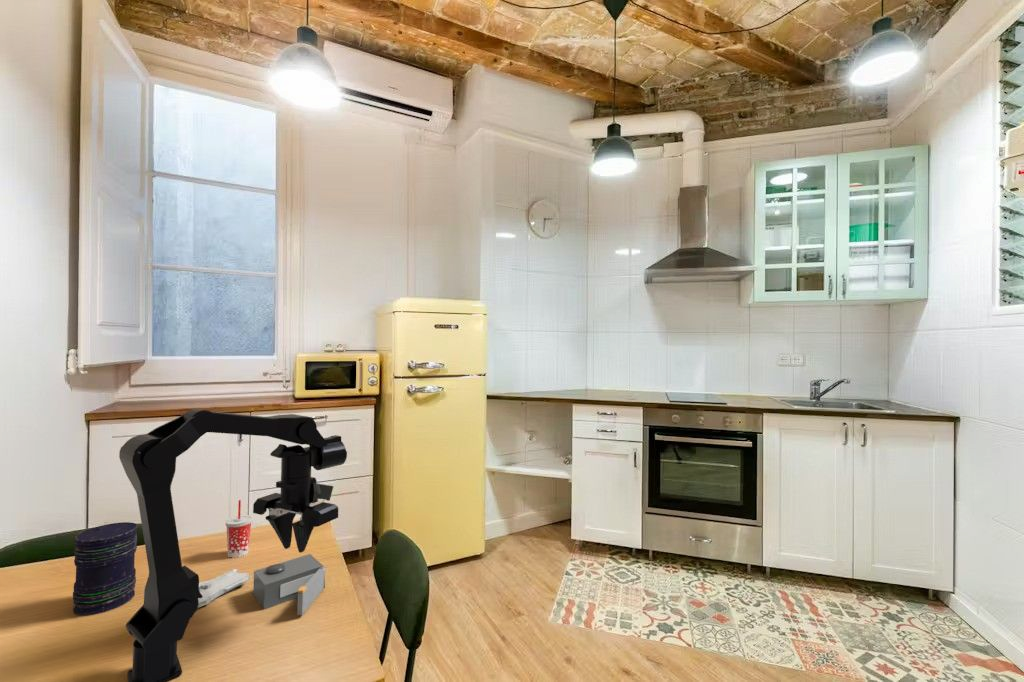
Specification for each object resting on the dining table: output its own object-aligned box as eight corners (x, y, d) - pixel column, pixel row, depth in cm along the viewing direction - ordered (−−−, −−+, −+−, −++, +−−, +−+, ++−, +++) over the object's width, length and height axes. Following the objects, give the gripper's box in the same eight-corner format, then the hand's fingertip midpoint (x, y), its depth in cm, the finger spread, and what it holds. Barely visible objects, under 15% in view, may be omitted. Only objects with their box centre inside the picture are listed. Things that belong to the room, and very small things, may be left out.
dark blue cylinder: (146, 593, 97) (149, 525, 97) (94, 619, 87) (96, 543, 88) (114, 586, 99) (116, 519, 100) (59, 611, 90) (62, 537, 90)
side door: (325, 586, 99) (326, 564, 99) (302, 615, 89) (303, 590, 89) (320, 586, 99) (320, 564, 99) (296, 615, 89) (297, 590, 89)
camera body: (323, 588, 100) (323, 563, 100) (264, 609, 91) (265, 582, 91) (309, 574, 105) (310, 551, 105) (253, 593, 97) (254, 568, 97)
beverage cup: (256, 552, 117) (257, 499, 117) (231, 561, 112) (233, 506, 112) (244, 546, 120) (245, 495, 120) (219, 555, 115) (221, 501, 115)
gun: (227, 560, 105) (253, 570, 101) (227, 574, 105) (253, 585, 101) (134, 602, 89) (161, 617, 85) (135, 619, 89) (161, 635, 85)
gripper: (358, 470, 96) (356, 542, 96) (296, 461, 104) (295, 528, 103) (317, 484, 86) (315, 565, 86) (252, 473, 93) (250, 547, 93)
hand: (294, 549), depth 92 cm, fingers open, 4 cm apart
